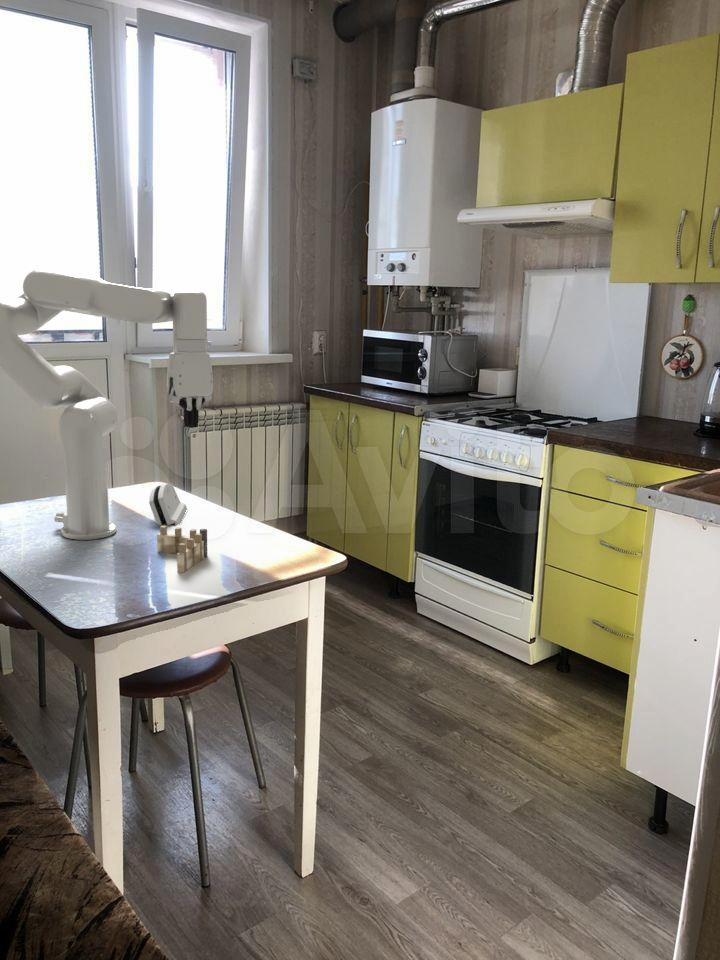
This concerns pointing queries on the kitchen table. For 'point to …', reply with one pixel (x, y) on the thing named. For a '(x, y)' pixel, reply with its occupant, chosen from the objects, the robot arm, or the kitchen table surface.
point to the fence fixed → (177, 540)
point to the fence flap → (190, 553)
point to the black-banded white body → (166, 505)
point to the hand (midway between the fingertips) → (191, 426)
